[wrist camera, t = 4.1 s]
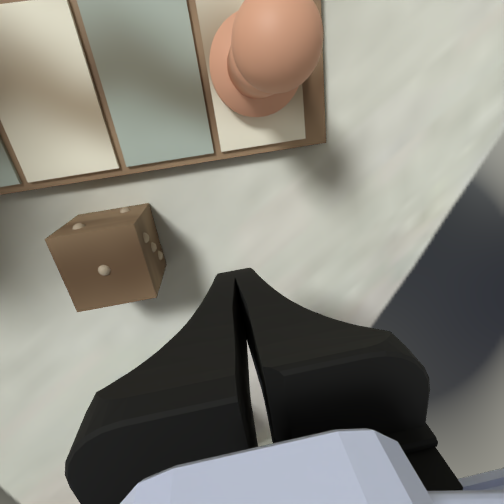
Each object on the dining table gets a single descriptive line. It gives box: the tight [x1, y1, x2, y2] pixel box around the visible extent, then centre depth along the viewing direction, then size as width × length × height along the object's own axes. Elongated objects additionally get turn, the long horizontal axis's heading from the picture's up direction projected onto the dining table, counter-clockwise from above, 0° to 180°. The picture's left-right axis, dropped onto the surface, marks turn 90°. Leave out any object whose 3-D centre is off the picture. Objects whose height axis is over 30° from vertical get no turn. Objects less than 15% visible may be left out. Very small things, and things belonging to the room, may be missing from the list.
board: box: [0, 0, 326, 195], centre depth 15 cm, size 8×22×1 cm, turn 98°
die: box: [45, 203, 166, 312], centre depth 16 cm, size 4×4×4 cm
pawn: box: [209, 0, 323, 117], centre depth 12 cm, size 4×4×7 cm
